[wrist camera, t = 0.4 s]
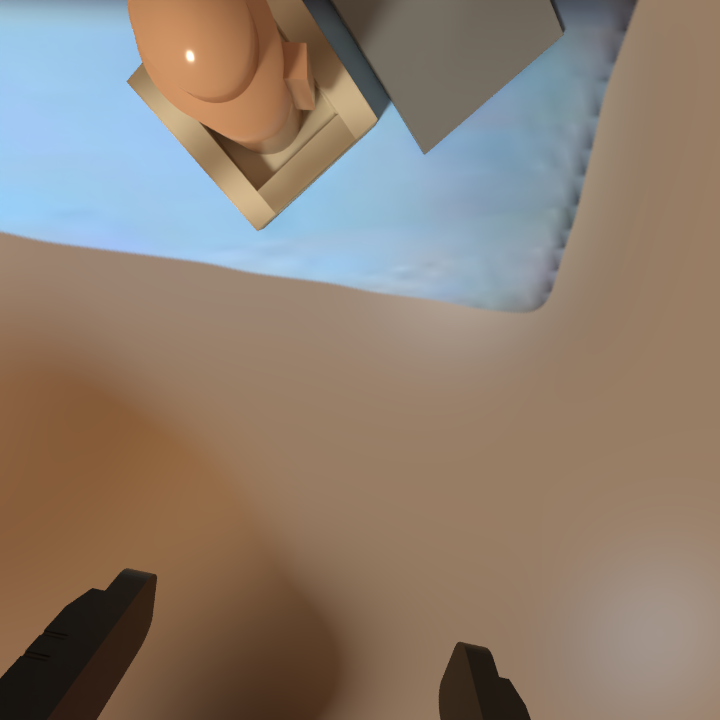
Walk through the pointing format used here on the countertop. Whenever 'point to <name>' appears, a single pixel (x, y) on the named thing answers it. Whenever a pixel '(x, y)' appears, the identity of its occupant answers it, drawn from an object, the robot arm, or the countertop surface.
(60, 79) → the countertop surface
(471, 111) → the mat
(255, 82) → the peach capped cylinder
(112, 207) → the countertop surface
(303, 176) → the holder
